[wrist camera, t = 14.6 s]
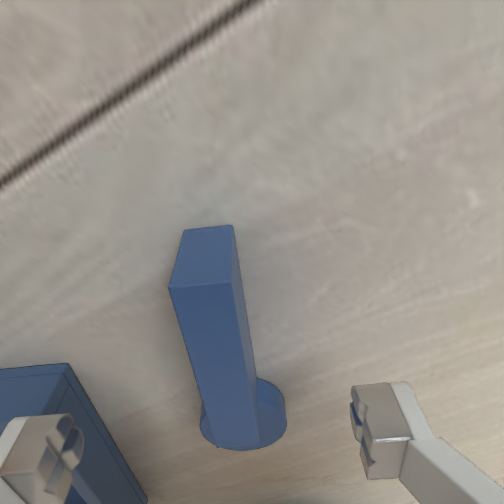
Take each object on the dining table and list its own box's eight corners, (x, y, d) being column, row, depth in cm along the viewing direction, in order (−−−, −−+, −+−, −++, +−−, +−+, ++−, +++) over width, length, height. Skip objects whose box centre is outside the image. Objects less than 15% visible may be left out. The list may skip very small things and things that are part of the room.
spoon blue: (149, 232, 11) (123, 292, 9) (267, 220, 11) (275, 276, 9) (209, 429, 17) (204, 498, 15) (286, 422, 17) (294, 490, 15)
